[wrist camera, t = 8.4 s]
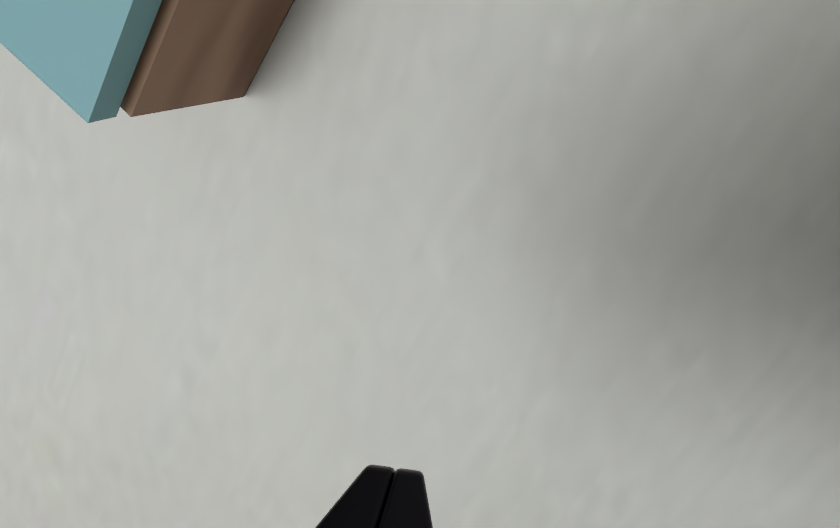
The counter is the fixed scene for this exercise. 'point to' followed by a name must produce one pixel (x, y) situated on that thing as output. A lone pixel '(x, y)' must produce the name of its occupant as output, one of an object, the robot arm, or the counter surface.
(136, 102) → the case
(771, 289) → the counter surface
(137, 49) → the lid
